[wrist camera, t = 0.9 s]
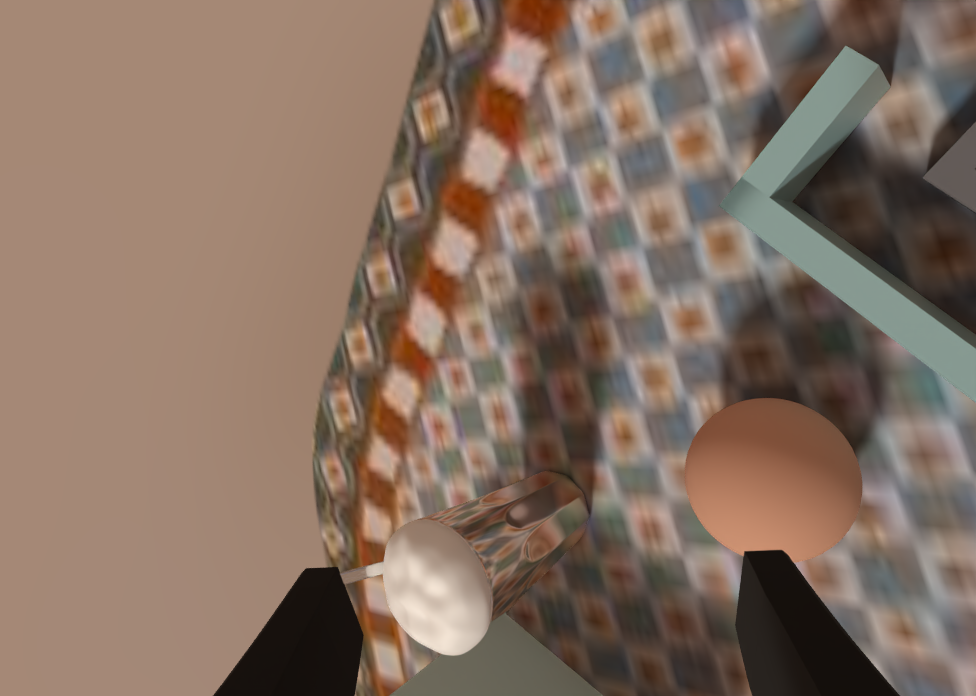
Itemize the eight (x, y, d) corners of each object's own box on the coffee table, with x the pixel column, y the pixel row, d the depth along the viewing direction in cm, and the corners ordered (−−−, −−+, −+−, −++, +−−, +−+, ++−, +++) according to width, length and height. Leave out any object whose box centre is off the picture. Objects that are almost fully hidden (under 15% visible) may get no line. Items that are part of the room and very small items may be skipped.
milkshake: (499, 442, 29) (325, 519, 21) (606, 468, 26) (447, 570, 18) (498, 534, 30) (330, 642, 22) (602, 570, 27) (448, 710, 19)
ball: (911, 464, 20) (896, 522, 16) (794, 555, 22) (756, 626, 18) (779, 354, 21) (736, 381, 17) (685, 450, 24) (629, 492, 20)
